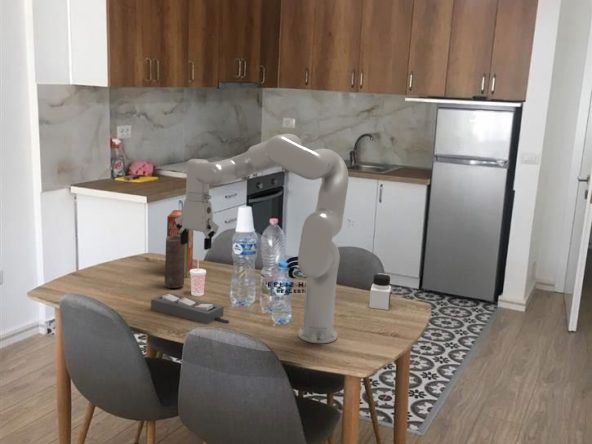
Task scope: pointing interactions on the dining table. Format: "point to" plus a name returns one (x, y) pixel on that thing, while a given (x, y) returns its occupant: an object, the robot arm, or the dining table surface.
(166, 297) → the rocker far
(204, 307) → the rocker near
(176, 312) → the power strip
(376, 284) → the medicine bottle
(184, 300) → the rocker middle
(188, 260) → the food packaging
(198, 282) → the beverage cup
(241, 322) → the dining table surface
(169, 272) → the candle
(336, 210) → the robot arm
